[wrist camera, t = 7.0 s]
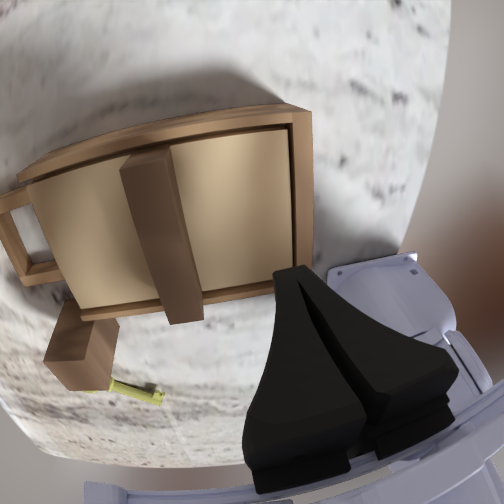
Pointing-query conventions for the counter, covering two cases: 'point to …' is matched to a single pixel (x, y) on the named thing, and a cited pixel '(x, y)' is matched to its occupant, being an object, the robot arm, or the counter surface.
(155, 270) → the lid
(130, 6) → the counter surface
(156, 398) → the key
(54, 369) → the brown wooden block
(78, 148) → the wooden tray
